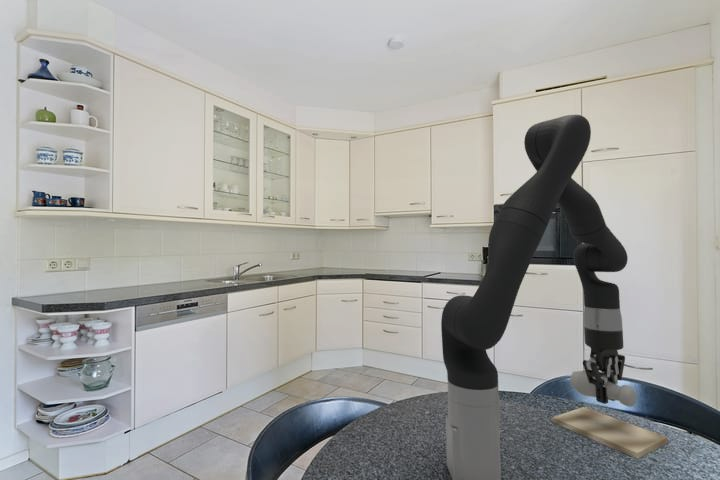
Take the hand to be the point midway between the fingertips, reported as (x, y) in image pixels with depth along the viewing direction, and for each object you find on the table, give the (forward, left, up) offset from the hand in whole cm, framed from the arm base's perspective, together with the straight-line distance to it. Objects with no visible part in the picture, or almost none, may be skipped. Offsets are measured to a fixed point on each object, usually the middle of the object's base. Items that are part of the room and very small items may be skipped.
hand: (606, 400), depth 81 cm
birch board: (0, 0, -7) cm, 7 cm away
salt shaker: (-4, +6, +3) cm, 8 cm away
